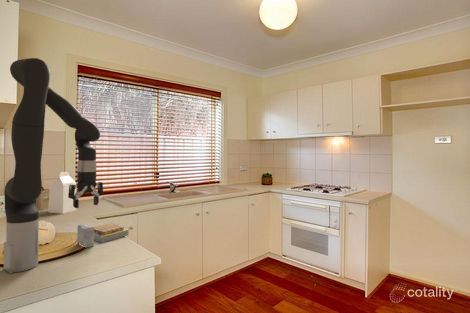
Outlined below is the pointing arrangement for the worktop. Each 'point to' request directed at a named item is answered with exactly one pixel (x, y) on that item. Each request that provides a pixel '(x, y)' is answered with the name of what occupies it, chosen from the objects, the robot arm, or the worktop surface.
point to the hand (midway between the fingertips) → (86, 206)
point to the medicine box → (86, 235)
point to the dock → (110, 236)
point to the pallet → (108, 229)
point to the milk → (61, 194)
